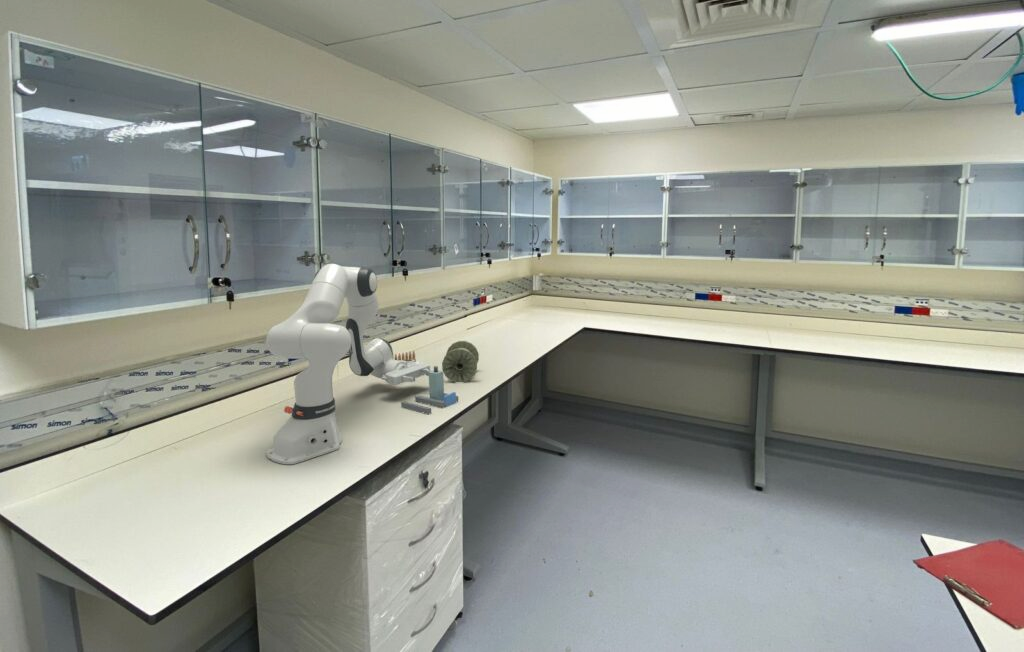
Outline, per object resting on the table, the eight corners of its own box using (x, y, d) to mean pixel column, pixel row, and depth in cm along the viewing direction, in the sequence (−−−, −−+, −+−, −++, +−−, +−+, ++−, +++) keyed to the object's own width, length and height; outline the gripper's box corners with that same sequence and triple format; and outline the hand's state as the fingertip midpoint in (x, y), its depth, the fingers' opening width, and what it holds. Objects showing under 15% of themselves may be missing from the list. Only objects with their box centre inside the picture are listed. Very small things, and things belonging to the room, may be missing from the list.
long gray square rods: (428, 414, 188) (428, 404, 187) (401, 407, 196) (400, 397, 195) (458, 401, 202) (458, 391, 201) (432, 394, 210) (431, 385, 209)
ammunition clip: (415, 374, 237) (414, 349, 235) (417, 375, 236) (416, 350, 234) (394, 379, 231) (392, 353, 229) (396, 380, 229) (394, 354, 227)
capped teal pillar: (437, 403, 199) (436, 368, 196) (429, 401, 201) (428, 367, 199) (444, 400, 203) (443, 366, 200) (436, 398, 205) (435, 364, 202)
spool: (477, 382, 225) (476, 349, 222) (442, 383, 225) (441, 349, 222) (478, 371, 241) (478, 340, 238) (446, 372, 241) (445, 341, 238)
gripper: (377, 370, 203) (402, 375, 196) (415, 358, 220) (439, 363, 212) (379, 385, 205) (403, 391, 197) (415, 372, 221) (439, 377, 213)
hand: (422, 376), depth 205 cm, fingers open, 8 cm apart
